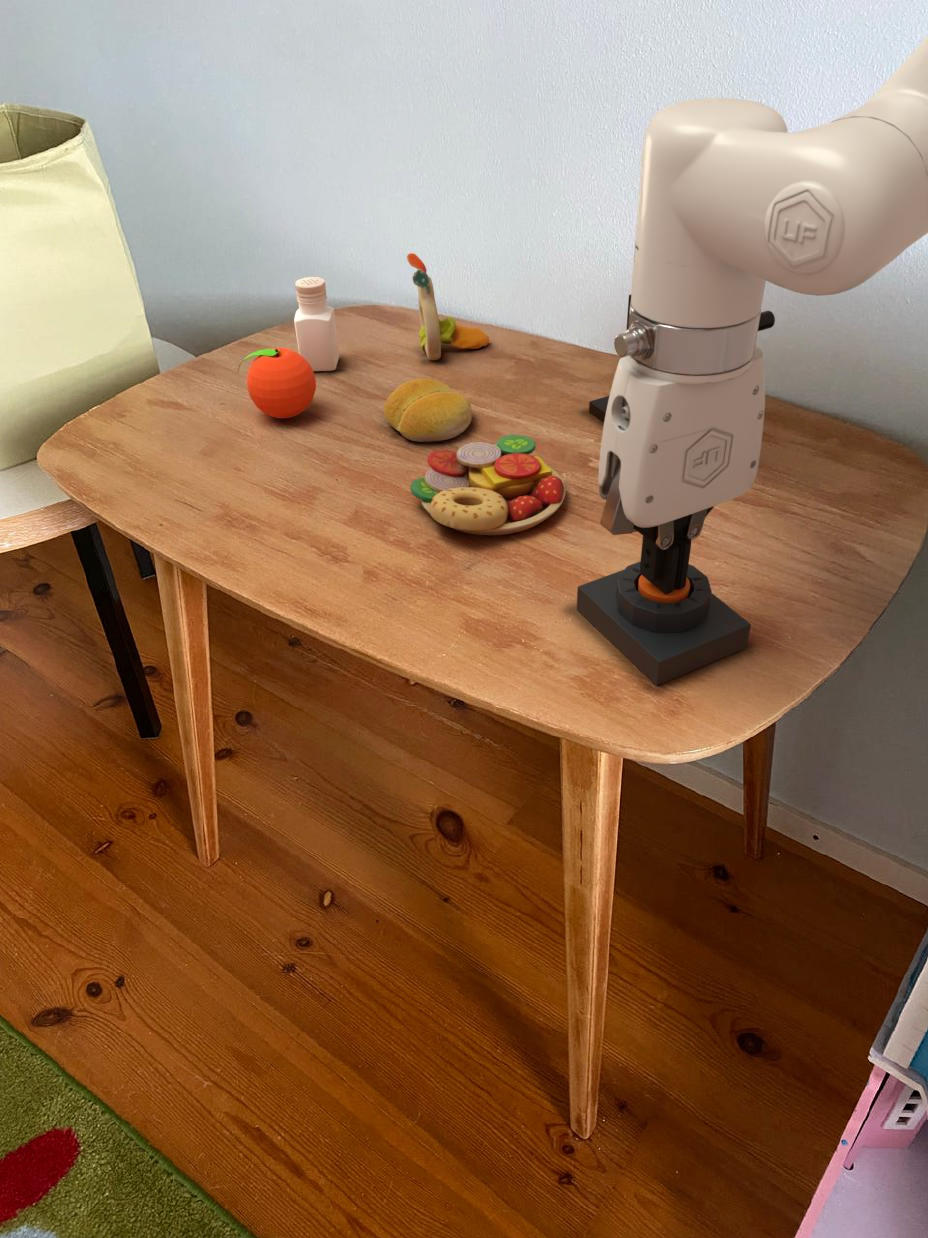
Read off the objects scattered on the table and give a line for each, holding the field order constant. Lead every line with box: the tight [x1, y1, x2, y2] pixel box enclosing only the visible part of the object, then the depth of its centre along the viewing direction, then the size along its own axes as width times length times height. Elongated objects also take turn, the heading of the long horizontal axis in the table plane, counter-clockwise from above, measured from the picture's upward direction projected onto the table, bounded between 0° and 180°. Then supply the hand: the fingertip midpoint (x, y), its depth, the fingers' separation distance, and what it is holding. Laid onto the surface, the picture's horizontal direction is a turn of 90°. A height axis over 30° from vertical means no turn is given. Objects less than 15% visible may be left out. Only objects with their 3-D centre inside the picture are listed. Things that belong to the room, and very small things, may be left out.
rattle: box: [406, 252, 490, 361], centre depth 109 cm, size 8×8×12 cm
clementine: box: [237, 347, 317, 419], centre depth 100 cm, size 8×7×7 cm
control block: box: [576, 561, 752, 686], centre depth 71 cm, size 10×8×4 cm
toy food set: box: [409, 434, 566, 536], centre depth 86 cm, size 13×13×3 cm
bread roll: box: [383, 377, 473, 443], centre depth 98 cm, size 8×9×4 cm
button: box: [638, 575, 690, 603], centre depth 71 cm, size 4×4×2 cm
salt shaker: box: [293, 276, 340, 372], centre depth 108 cm, size 4×4×10 cm
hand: (662, 580), depth 70 cm, fingers closed
